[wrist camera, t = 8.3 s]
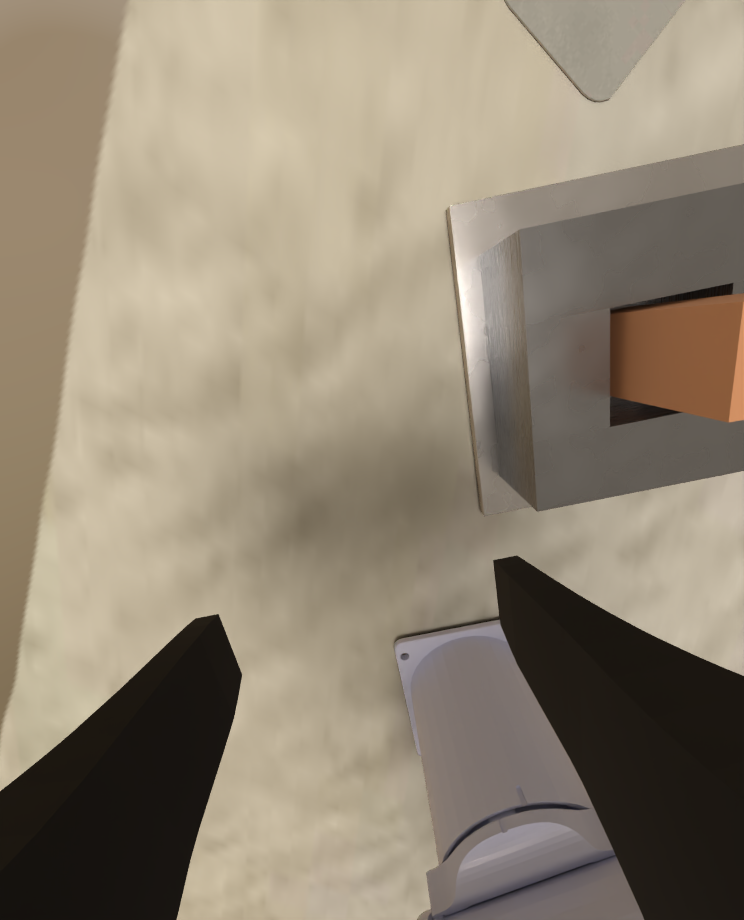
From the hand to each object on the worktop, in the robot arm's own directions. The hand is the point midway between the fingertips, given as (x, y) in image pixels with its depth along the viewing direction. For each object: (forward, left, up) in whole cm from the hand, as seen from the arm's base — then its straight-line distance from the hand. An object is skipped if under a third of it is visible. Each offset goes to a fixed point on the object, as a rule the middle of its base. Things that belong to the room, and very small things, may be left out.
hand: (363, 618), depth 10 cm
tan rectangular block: (+4, -12, -9) cm, 16 cm away
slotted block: (+4, -12, -10) cm, 16 cm away
